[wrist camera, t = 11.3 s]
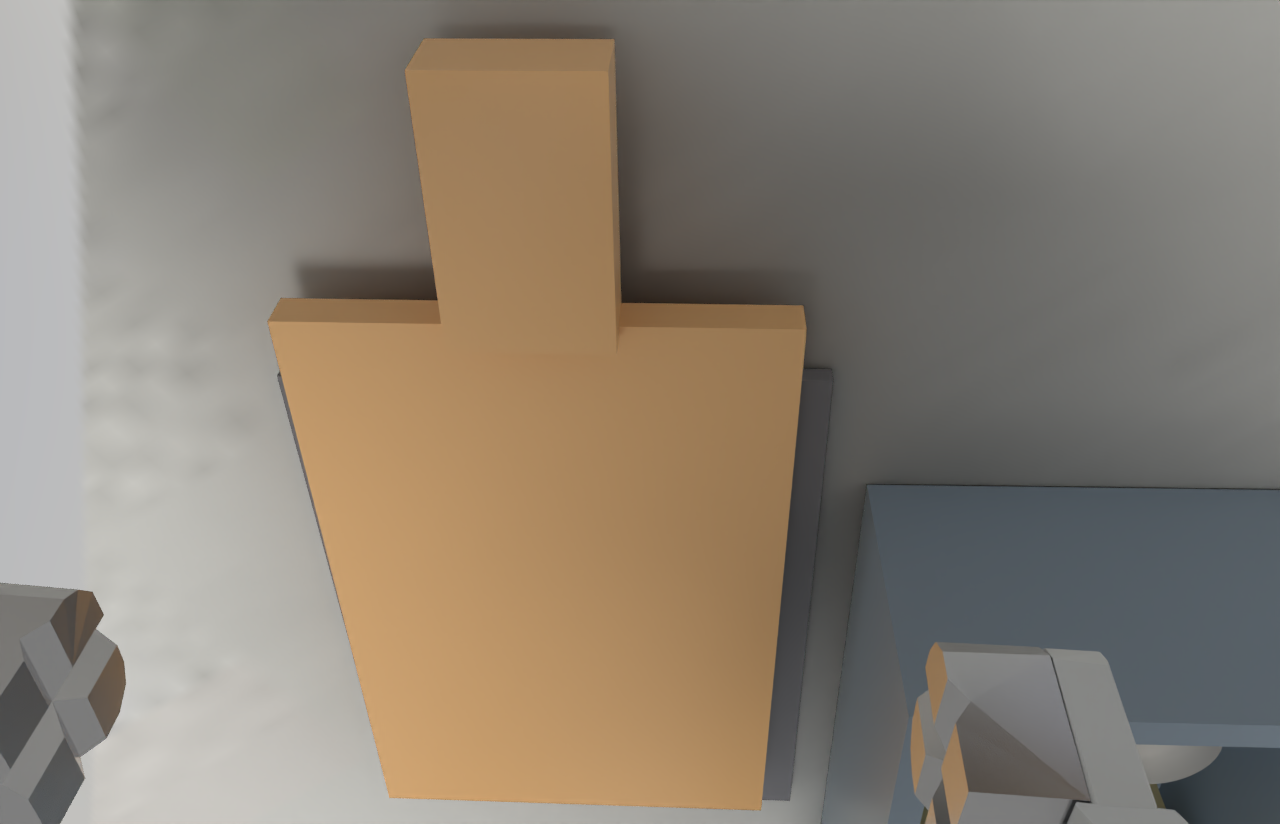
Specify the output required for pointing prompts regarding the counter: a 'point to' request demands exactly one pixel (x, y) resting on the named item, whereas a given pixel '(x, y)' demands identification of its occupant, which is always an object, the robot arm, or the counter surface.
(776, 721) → the mat
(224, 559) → the counter surface
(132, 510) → the counter surface
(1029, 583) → the tub
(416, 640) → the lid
